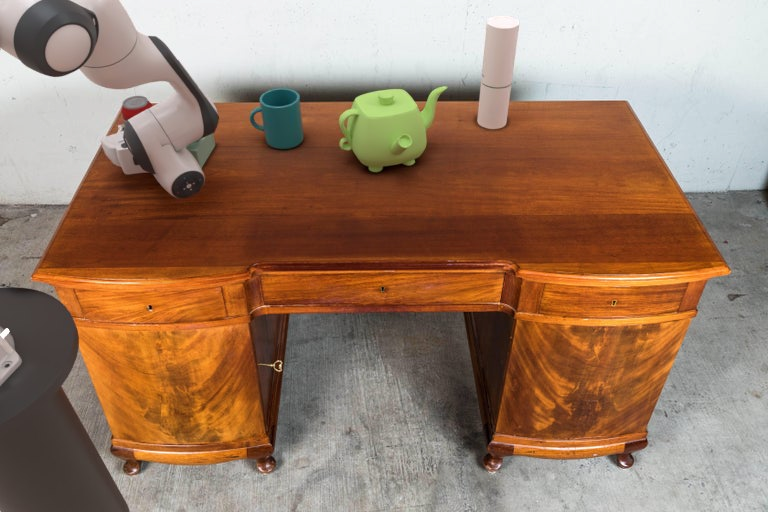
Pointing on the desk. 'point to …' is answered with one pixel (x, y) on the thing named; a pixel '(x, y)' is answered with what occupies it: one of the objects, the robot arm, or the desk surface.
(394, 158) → the teapot
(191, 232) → the desk surface
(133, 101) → the beverage can
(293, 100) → the cup
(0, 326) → the robot arm
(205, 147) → the divided storage tray
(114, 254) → the desk surface
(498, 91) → the cylindrical container
